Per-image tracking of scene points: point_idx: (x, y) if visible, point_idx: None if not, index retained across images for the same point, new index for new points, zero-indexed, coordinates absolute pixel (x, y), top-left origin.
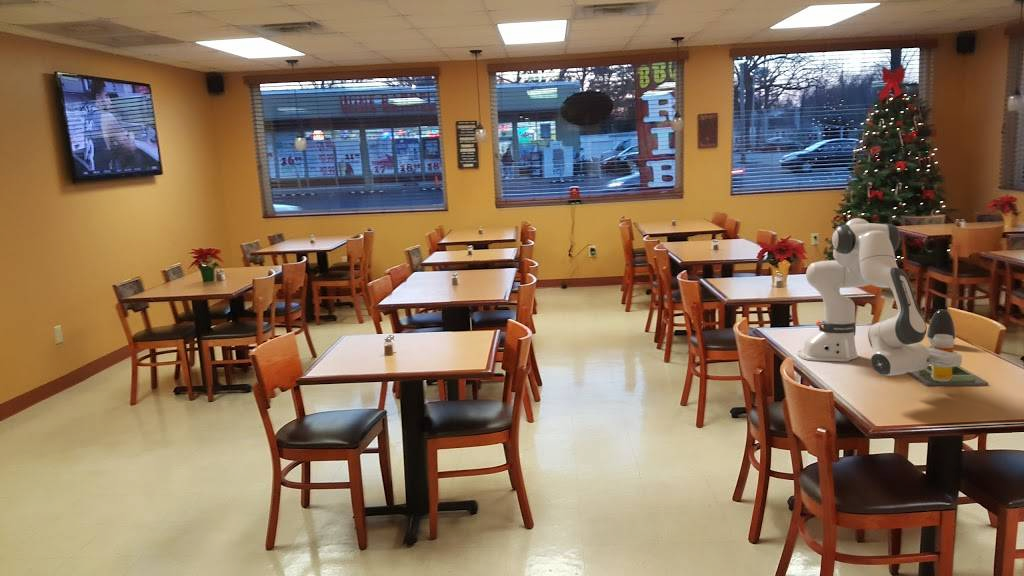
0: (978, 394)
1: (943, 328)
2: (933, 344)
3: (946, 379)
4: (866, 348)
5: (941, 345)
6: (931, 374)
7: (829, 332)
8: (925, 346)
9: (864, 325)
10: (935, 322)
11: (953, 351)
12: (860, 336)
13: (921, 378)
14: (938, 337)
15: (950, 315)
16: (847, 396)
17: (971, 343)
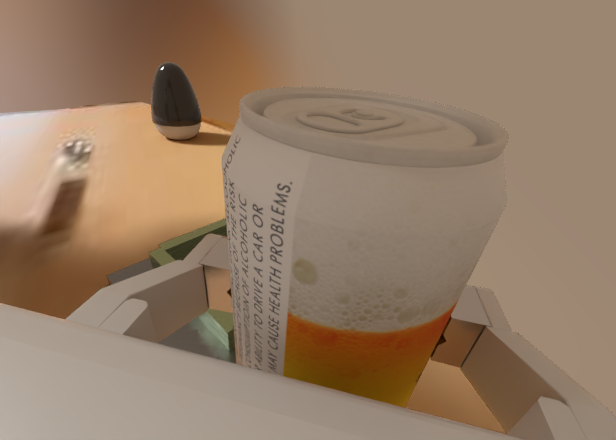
0: (430, 381)
1: (179, 102)
2: (258, 279)
3: None
4: (3, 172)
5: (418, 301)
6: None
7: None
8: (129, 378)
9: (42, 111)
10: (162, 90)
11: (464, 291)
12: (14, 135)
13: (169, 343)
14: (376, 152)
15: (186, 75)
16: None
17: (222, 127)
